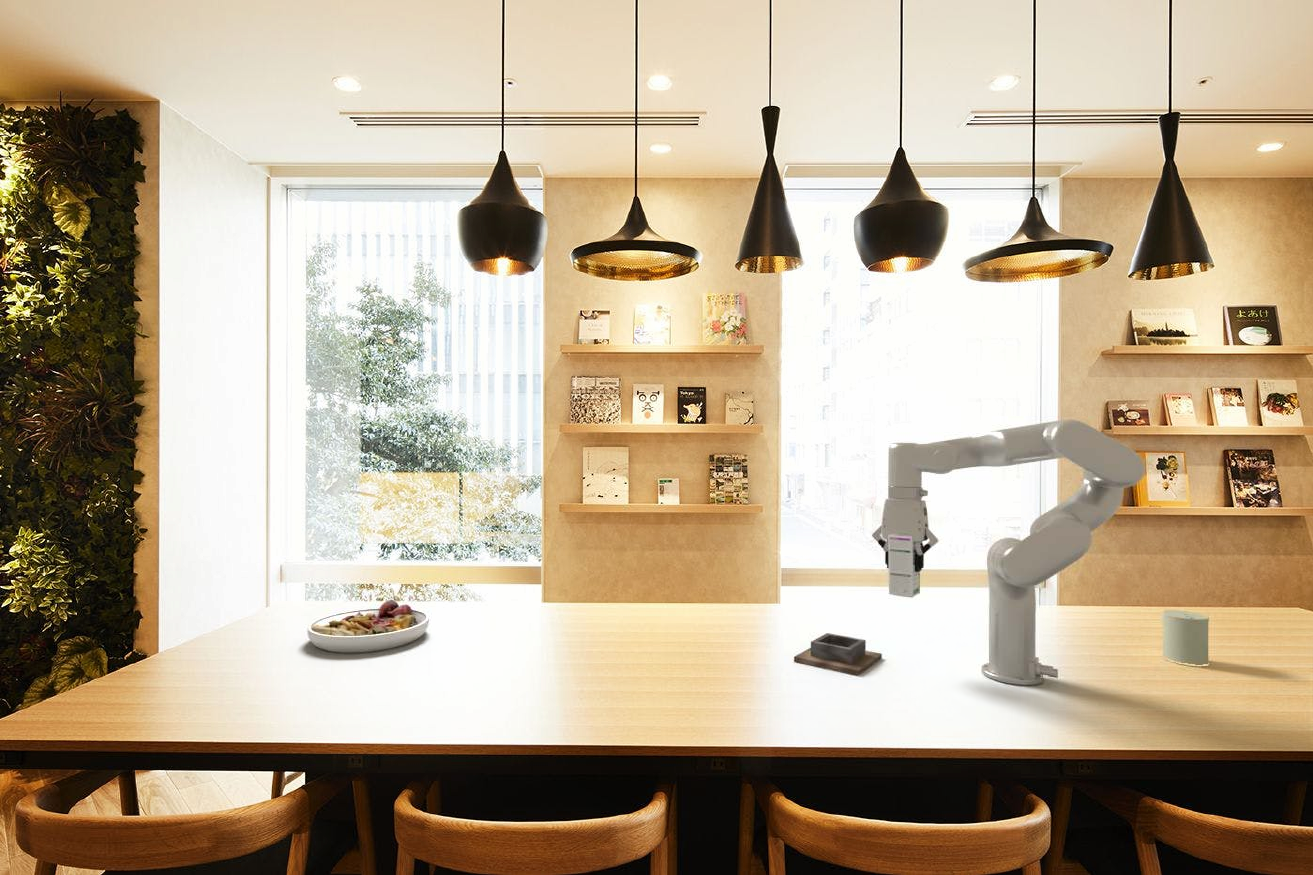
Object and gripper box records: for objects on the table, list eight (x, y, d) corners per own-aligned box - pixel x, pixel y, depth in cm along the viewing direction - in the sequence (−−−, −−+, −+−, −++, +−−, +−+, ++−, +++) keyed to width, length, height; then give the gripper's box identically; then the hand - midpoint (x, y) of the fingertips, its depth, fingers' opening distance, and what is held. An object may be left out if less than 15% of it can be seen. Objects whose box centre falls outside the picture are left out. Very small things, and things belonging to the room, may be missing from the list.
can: (1166, 663, 165) (1166, 614, 165) (1158, 653, 173) (1158, 606, 173) (1213, 669, 161) (1213, 619, 161) (1203, 658, 169) (1203, 611, 169)
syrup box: (913, 598, 156) (913, 535, 157) (887, 594, 160) (888, 533, 160) (920, 594, 161) (920, 533, 161) (895, 590, 165) (895, 531, 165)
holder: (881, 658, 167) (881, 639, 167) (858, 675, 154) (858, 655, 154) (821, 646, 176) (821, 628, 176) (794, 661, 164) (794, 642, 164)
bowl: (403, 657, 165) (404, 625, 165) (283, 656, 166) (283, 624, 166) (443, 625, 195) (444, 598, 195) (341, 624, 196) (341, 597, 196)
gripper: (946, 495, 159) (946, 571, 158) (874, 491, 169) (873, 563, 169) (938, 496, 153) (937, 576, 152) (863, 493, 163) (863, 567, 163)
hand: (904, 568), depth 161 cm, fingers closed on syrup box, 5 cm apart
